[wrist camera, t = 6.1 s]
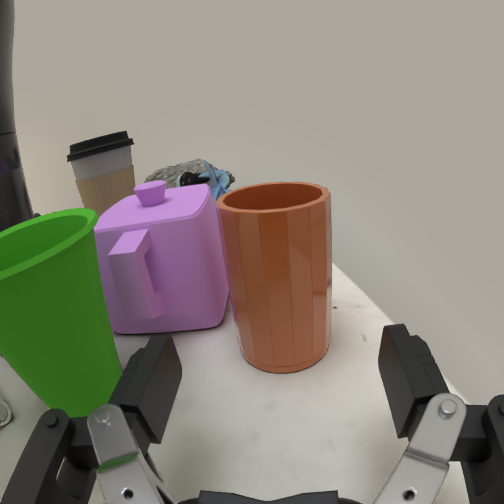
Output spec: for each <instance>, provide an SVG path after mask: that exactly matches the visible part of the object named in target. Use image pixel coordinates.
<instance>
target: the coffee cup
mask: <svg viewBox="0 0 504 504" xmlns="http://www.w3.org/2000/svg"><path fill="white" fill-rule="evenodd" d="M133 144H134V143H133V139H132V138H130V139H129V138H128V135H127V132H126V131H122V132H117V133H113V134H109V135H105V136H101V137H97V138H93V139H90V140H86V141H83V142H80V143H76V144H73V145H70V154H69V155H67V158H68V159H67V162H69V161H71V164H72V167H73V171H74V174H75V177H76V184H77V187H78V190H79V193H80V196H81V198H82V202H83V205H84V208H88V209H91V210H94V211H95V212H96V214H97V215H98V217H100V216H101V215H102V214H103V213H104V212H106V211H107V210H108V209H109V208H111V207H112V206H113V205H115V204H116V203H118V202H119V201H120V200H122V199H124V198H126V197H128V196H131V195H136V194H135V192H134V190H133V189H134V188H135V179H134V169H133V165H132V158H131V145H133Z"/></svg>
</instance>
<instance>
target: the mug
mask: <svg viewBox="0 0 504 504" xmlns="http://www.w3.org/2000/svg"><path fill="white" fill-rule="evenodd" d="M215 206H216V212H217V219H218V225H219V232H220V238H221V244H222V250H223V257H224V263H225V269H226V275H227V281H228V287H229V293H230V298H231V304H232V310H233V316H234V321H235V327H236V333H237V338H238V343H239V345H240V350H241V353H242V355H243V357H244V358H245V359H246V360H247V361H248V362H249V363H250V364H251V365H253V366H254V367H256V368H258V369H261V370H264V371H267V372H273V373H290V372H296V371H300V370H303V369H305V368H308V367H310V366H312V365H314V364H315V363H316V362H318V361H319V360H320V359H321V358H322V357H323V356H324V354H325V353H326V351H327V349H328V346H329V339H330V330H331V296H332V230H331V229H332V228H331V194H330V192H329V191H328V189H327V188H325V187H322V186H320V185H317V184H312V183H305V182H271V183H262V184H256V185H251V186H246V187H242V188H238V189H235V190H232V191H229V192H227V193H225V194H223V195H221V196H219V198H218V199H217V201H216V202H215Z"/></svg>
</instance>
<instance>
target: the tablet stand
mask: <svg viewBox="0 0 504 504" xmlns="http://www.w3.org/2000/svg"><path fill="white" fill-rule="evenodd" d="M10 418H11V410H10V408H9V407H8V405H7V404H6V402H5V401H4V399H3V398H2V396H1V395H0V426H3V425H6V424H7V423H8V422H9V421H10Z"/></svg>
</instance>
